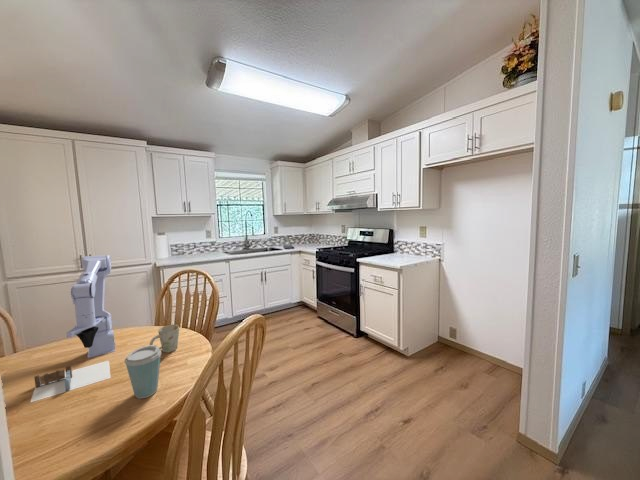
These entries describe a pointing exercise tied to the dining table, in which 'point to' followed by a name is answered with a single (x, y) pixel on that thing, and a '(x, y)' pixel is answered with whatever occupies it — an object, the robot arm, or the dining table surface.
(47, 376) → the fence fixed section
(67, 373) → the fence folding panel
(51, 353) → the dining table surface
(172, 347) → the mug
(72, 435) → the dining table surface
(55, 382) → the card
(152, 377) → the disposable coffee cup
